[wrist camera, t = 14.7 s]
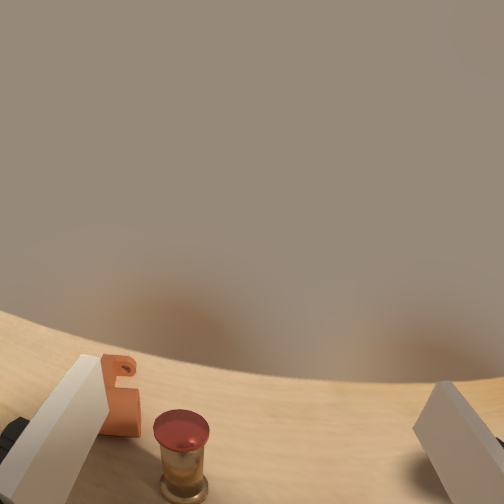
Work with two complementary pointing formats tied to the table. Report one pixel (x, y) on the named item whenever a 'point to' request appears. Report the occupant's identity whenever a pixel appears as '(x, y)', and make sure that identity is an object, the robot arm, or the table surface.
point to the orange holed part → (120, 398)
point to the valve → (182, 455)
